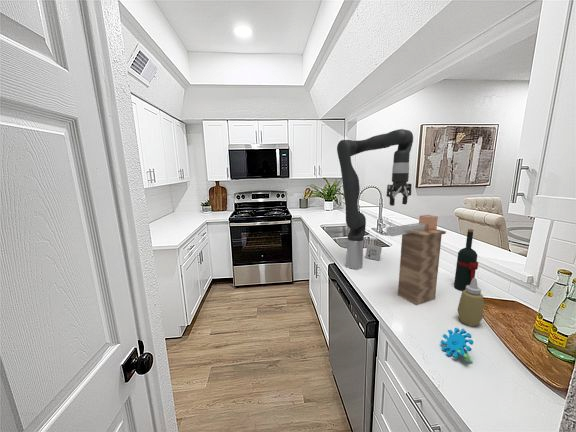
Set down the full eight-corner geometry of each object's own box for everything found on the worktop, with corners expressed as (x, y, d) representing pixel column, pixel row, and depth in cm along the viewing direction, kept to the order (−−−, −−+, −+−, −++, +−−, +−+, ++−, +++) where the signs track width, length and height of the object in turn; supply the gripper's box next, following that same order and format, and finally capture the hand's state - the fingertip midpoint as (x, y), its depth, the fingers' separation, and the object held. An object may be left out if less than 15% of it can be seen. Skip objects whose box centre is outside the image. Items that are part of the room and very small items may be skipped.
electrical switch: (365, 258, 166) (366, 244, 165) (368, 256, 170) (369, 243, 169) (379, 261, 160) (380, 247, 159) (381, 259, 164) (383, 246, 163)
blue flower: (434, 335, 87) (461, 321, 83) (445, 346, 88) (472, 332, 84) (448, 363, 77) (478, 348, 73) (460, 375, 77) (491, 360, 74)
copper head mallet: (393, 236, 100) (394, 222, 99) (384, 234, 104) (385, 220, 103) (438, 229, 110) (439, 216, 109) (427, 227, 115) (428, 214, 113)
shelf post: (416, 307, 108) (422, 235, 101) (394, 294, 118) (399, 229, 112) (438, 299, 113) (445, 231, 107) (415, 288, 124) (421, 225, 118)
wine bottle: (464, 294, 117) (472, 232, 111) (450, 284, 127) (456, 227, 121) (480, 294, 117) (489, 232, 111) (465, 284, 127) (472, 227, 121)
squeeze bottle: (474, 331, 92) (481, 285, 88) (451, 319, 99) (456, 276, 95) (486, 324, 95) (492, 280, 92) (463, 313, 102) (468, 272, 99)
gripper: (395, 172, 116) (393, 207, 119) (417, 171, 122) (414, 204, 125) (383, 172, 123) (382, 205, 126) (404, 171, 129) (402, 203, 132)
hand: (398, 204), depth 126 cm, fingers open, 8 cm apart
